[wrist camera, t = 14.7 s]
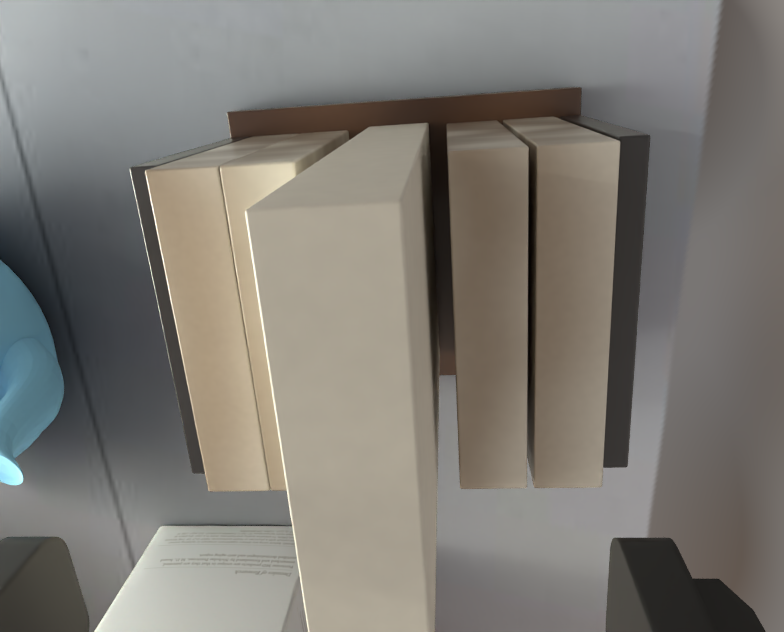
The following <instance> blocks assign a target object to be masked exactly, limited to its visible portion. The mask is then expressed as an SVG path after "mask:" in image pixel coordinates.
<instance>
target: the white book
mask: <svg viewBox="0 0 784 632" xmlns="http://www.w3.org/2000/svg"><path fill="white" fill-rule="evenodd" d="M245 216H246V222H247V229H248V236H249V242H250V249H251V256H252V262H253V269H254V275H255V282H256V289H257V295H258V302H259V309H260V315H261V322H262V329H263V335H264V342H265V349H266V355H267V362H268V369H269V375H270V382H271V388H272V395H273V402H274V408H275V415H276V422H277V428H278V435H279V442H280V448H281V455H282V462H283V468H284V475H285V482H286V488H287V495H288V501H289V508H290V515H291V521H292V528H293V535H294V541H295V548H296V555H297V561H298V568H299V575H300V581H301V588H302V595H303V601H304V608H305V614H306V621H307V628H308V632H435V592H436V536H437V479H438V422H439V365H440V349H439V328H438V307H437V286H436V265H435V245H434V224H433V203H432V182H431V161H430V140H429V124H428V123H416V124H401V125H386V126H371V127H368V128H367V129H365V130H364V131H362V132H361V133H359V134H358V135H356V136H355V137H353V138H352V139H350V140H349V141H348V142H346V143H345V144H343V145H342V146H340V147H339V148H337V149H336V150H334V151H333V152H331V153H330V154H328V155H327V156H325V157H324V158H322V159H321V160H319V161H318V162H316V163H315V164H313V165H312V166H310V167H309V168H307V169H306V170H304V171H303V172H301V173H300V174H298V175H297V176H296V177H294V178H293V179H291V180H290V181H288V182H287V183H285V184H284V185H282V186H281V187H279V188H278V189H276V190H275V191H273V192H272V193H270V194H269V195H267V196H266V197H264V198H263V199H261V200H260V201H258V202H257V203H255V204H254V205H252V206H251V207H249V208H248V209H246V211H245Z"/></svg>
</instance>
